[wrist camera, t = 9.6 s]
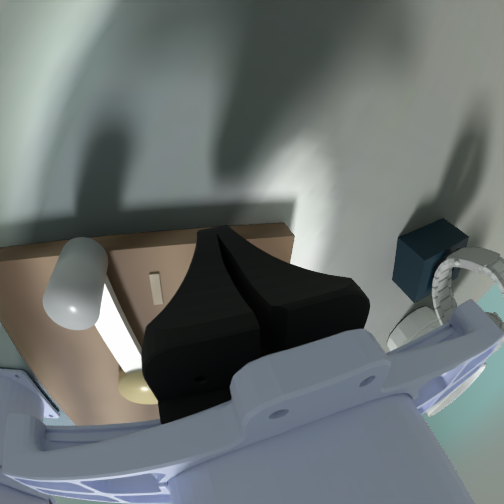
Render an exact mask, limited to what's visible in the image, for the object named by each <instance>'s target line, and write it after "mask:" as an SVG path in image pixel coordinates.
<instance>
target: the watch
mask: <svg viewBox="0 0 504 504" xmlns="http://www.w3.org/2000/svg"><path fill="white" fill-rule="evenodd" d="M468 238H469V236H467V235H466V234H465V233H463V232H462V231H460V230H459V229H458V228H456V227H455V226H454V225H452V224H451V223H449V222H448V221H447V220H445V219H444V218H442V219H440V220H438V221H436V222H433V223H431V224H429V225H427V226H424V227H422V228H420V229H417V230H415V231H413V232H410V233H408V234H406V235H403V236H401V237H398V242H397V250H396V257H395V265H394V271H393V278H392V280H393V281H394V282H395V283H396V284H397V285H398V286H399V287H400V288H401V290H402V291H403V292H404V293H405V294H406V295H407V296H408V297H409V298H410V299H411V300H412V301H413V302H414V303H415V302H417V301H419V300H421V299H422V298H424V297H426V296H428V295H429V294H431V293H432V297H433V304H434V308H436V309H435V312H436V315H437V317H438V319H439V322H440V324H441V326H442V325H443V324H445V323H447V322H449V318H450V316H451V314H452V313H453V311H454V310H455V309H456V308H457V303H456V301H455V299H454V298H452V297H454V295H453V291H452V288H450V287H451V286H452V285H451V281H452V280H454V279H455V278H457V276H458V273H459V270H460V268H465V269H469V270H472V271H474V272H477V273H479V274H482V273H484V274H486V275H487V276H489V277H490V278H491V279H492V278H493V279H494V280H495V282H498V281H499V280H500V281H499V282H498V286H499V288H500V289H501V292H502V294H504V259H503V258H501V257H499V256H500V254H499V253H496V252H494V251H491V250H488V249H484V248H477V247H466V246H467V242H468ZM500 273H501V274H500ZM503 298H504V296H503ZM448 308H449V309H448ZM454 308H455V309H454ZM445 310H446V311H445ZM485 313H486V314H487V315H488V316H489V317H490V318H491V319H492V320H493V321H494V323H495V324H496V325H497V326H498V327H499V328H500V329H501V330H502V331H503V332H504V322H502V320H501V318H500V317H499V316H498V314H497V313H495V312H494V313H489V312H485ZM441 317H442V318H441ZM503 342H504V337H503V338H502V340H501V341H500V342H499V344H498V345H497V347H496V348H495V349H494V351H493V352H492V353H494V352H496V351H497V350H498V349H499V348H500V347H501V345H502V344H503ZM492 353H491V354H492Z"/></svg>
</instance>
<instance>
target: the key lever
mask: <svg viewBox="0 0 504 504" xmlns="http://www.w3.org/2000/svg"><path fill="white" fill-rule="evenodd" d="M107 268H108V256H107V253H106V251H105V250H104V248H103V247H102V246H101V245H100V244H99V243H98V242H96V241H95V240H93V239H90V238H86V237H77V238H73V239H71V240H69V241H68V242H67V243H66V244H65V245H64V247H63V249H62V251H61V253H60V256H59V258H58V260H57V263H56V265H55V267H54V270H53V272H52V275H51V277H50V280H49V282H48V285H47V287H46V290H45V293H44V295H43V307H44V309H45V311H46V313H47V315H48V316H49V317H50V318H51V319H52V320H53V321H54V322H55V323H57V324H58V325H60V326H62V327H64V328H67V329H71V330H85V329H88V328H90V327H92V326H93V325H95V326H96V328H97V330H98V331H99V333H100V335H101V336H102V338H103V340H104V341H105V343H106V344H107V346H108V348H109V349H110V351H111V352H112V354H113V355H114V357H115V358H116V360H117V362H118V363H119V365H120V366H121V367H122V369H121V370H120V372H119V374H118V390H119V393H120V394H121V395H122V396H123V397H124V398H125V399H127V400H129V401H131V402H134V403H139V404H158V400H157V399H156V397H155V396H154V394H153V392H152V391H151V389H150V388H149V386H148V384H147V383H146V381H145V380H144V377H143V374H142V361H141V352H142V348H141V346H140V344H139V342H138V340H137V339H136V337H135V335H134V333H133V331H132V329H131V327H130V325H129V323H128V321H127V319H126V317H125V314H124V312H123V310H122V308H121V306H120V304H119V302H118V299H117V297H116V295H115V293H114V291H113V288H112V286H111V284H110V281H109V279H108V277H107V274H106V273H107Z"/></svg>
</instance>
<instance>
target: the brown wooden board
mask: <svg viewBox="0 0 504 504" xmlns="http://www.w3.org/2000/svg"><path fill="white" fill-rule="evenodd" d="M229 227H230V228H232V229H233V230H234V231H235V232H237V233H238V234H239V235H241V236H242V237H243V238H244V239H246V240H247V241H249V242H250V243H252V244H253V245H255V246H256V247H258V248H259V249H261V250H263V251H265V252H266V253H268V254H270V255H272V256H274V257H276V258H278V259H280V260H283V261H285V262H287V263H290V259H291V254H292V248H293V243H294V237H295V236H294V234H293V233H292V232H291V231H290V230H289V228H288V227H287V226H286V225H285V223H271V224H253V225H237V226H229ZM208 228H214V227H207V228H193V229H180V230H167V231H155V232H143V233H132V234H121V235H110V236H100V237H90V239H93V240H95V241H96V242H98V243H99V244H100V245H101V246H102V247H103V248H104V250H105V251H106V253H107V256H108V268H107V273H106V274H107V277H108V279H109V281H110V284H111V286H112V288H113V291H114V293H115V295H116V297H117V299H118V302H119V304H120V306H121V308H122V310H123V312H124V314H125V317H126V319H127V321H128V323H129V325H130V327H131V329H132V331H133V333H134V335H135V337H136V339H137V340H138V342H139V344H140V346H141V348H142V344H143V338H144V333H145V329H146V326H147V325H148V324H149V323H150V322H151V321H152V320H153V319H154V318H155V317H156V316H157V315H158V314H159V313H160V312H161V311H162V310H163V309H164V308H165V307H166V305H167V304H168V303H169V301H170V300H171V299H172V298H173V296H174V295H175V293H176V292H177V290H178V288H179V287H180V285H181V283H182V281H183V280H184V278H185V276H186V273H187V271H188V269H189V266H190V263H191V261H192V258H193V255H194V251H195V247H196V242H197V234H196V233H197V232H198V231H199V230H203V229H208ZM68 241H69V240H61V241H52V242H43V243H35V244H27V245H18V246H10V247H3V248H0V321H1V323H2V325H3V326H4V328H5V330H6V332H7V333H8V335H9V337H10V338H11V340H12V342H13V343H14V345H15V346H16V348H17V350H18V351H19V353H20V354H21V356H22V357H23V359H24V360H25V362H26V363H27V365H28V366H29V368H30V369H31V370H32V372H33V373H34V375H35V376H36V377H37V379H38V380H39V381H40V383H41V384H42V385H43V387H44V388H45V389H46V391H47V392H48V393H49V394H50V396H51V397H52V398H53V399H54V401H55V402H56V403H57V404H58V405H59V407H60V408H61V409H62V410H63V411H64V412H65V413H66V415H67V416H68V417H69V418H70V419H71V420H72V421H73V422H74V423H75V425H76V426H84V425H106V424H119V423H130V422H140V421H148V420H156V419H160V416H159V408H158V404H139V403H134V402H131V401H129V400H127V399H125V398H124V397H123V396H122V395H121V394H120V393H119V390H118V374H119V372H120V370H121V369H122V367H121V366H120V365H119V363H118V362H117V360H116V358H115V357H114V355H113V354H112V352H111V351H110V349H109V348H108V346H107V344H106V343H105V341H104V340H103V338H102V336H101V335H100V333H99V331H98V330H97V328H96V326H95V325H93V326H92V327H90V328H88V329H85V330H71V329H67V328H64V327H62V326H60V325H58V324H57V323H55V322H54V321H53V320H52V319H51V318H50V317H49V316H48V315H47V313H46V311H45V309H44V307H43V295H44V293H45V290H46V287H47V285H48V282H49V280H50V277H51V275H52V272H53V270H54V267H55V265H56V263H57V260H58V258H59V256H60V253H61V251H62V249H63V247H64V245H65V244H66V243H67V242H68Z"/></svg>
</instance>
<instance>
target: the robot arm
mask: <svg viewBox="0 0 504 504" xmlns="http://www.w3.org/2000/svg"><path fill="white" fill-rule="evenodd" d="M196 234H197V242H196V247H195V251H194V255H193V258H192V261H191V263H190V266H189V269H188V271H187V273H186V276H185V278H184V280H183V281H182V283H181V285H180V287H179V288H178V290H177V292H176V293H175V295H174V296H173V298H172V299H171V300H170V301H169V303H168V304H167V305H166V307H165V308H164V309H163V310H162V311H161V312H160V313H159V314H158V315H157V316H156V317H155V318H154V319H153V320H152V321H151V322H150V323H149V324H148V325H147V326H146V329H145V333H144V338H143V344H142V352H141V361H142V374H143V377H144V380H145V381H146V383H147V384H148V386H149V388H150V389H151V391H152V392H153V394H154V396H155V397H156V399H157V400H158V408H159V416H160V419H156V420H148V421H140V422H130V423H119V424H106V425H84V426H45V424H44V423H43V419H44V417H46V418H60V414H59V413H58V411H57V410H56V409H55V408H54V407H53V406H52V405H51V403H50V402H49V401H48V400H47V399H46V397H45V396H44V395H43V394H42V393H41V391H40V390H39V389H38V388H37V386H36V385H35V384H34V382H33V381H32V380H31V378H30V377H29V376H28V374H27V373H26V372H25V371H23V370H12V369H0V504H57V502H56V501H55V499H54V498H53V497H52V496H51V495H54V496H61V497H68V498H75V499H83V500H91V501H101V502H114V503H135V504H140V503H141V504H160V503H161V504H162V503H172V504H475V503H474V501H473V499H472V498H471V496H470V494H469V492H468V491H467V489H466V487H465V485H464V483H463V482H462V480H461V478H460V477H459V475H458V473H457V471H456V470H455V468H454V466H453V465H452V463H451V461H450V460H449V458H448V456H447V455H446V453H445V451H444V450H443V448H442V447H441V445H440V443H439V442H438V440H437V438H436V437H435V436H434V434H433V432H432V431H431V429H430V427H429V426H428V424H427V423H426V421H425V420H424V418H423V416H422V414H424V413H425V412H426V411H428V410H429V409H430V408H432V407H433V406H434V405H436V404H437V403H438V402H440V401H441V400H442V399H444V398H445V397H446V396H447V395H449V394H450V393H451V392H452V391H454V390H455V389H456V388H457V387H459V386H460V385H461V384H462V383H464V382H465V381H466V380H467V379H468V378H470V377H471V376H472V375H473V374H474V373H476V372H477V371H478V370H479V369H480V368H481V366H482V365H483V364H484V363H485V361H486V360H487V359H488V357H489V356H490V355H491V353H492V352H493V351H494V349H495V348H496V347H497V345H498V344H499V342H500V341H501V340H502V338H503V337H504V332H503V331H502V330H501V329H500V328H499V327H498V326H497V325H496V324H495V323H494V321H493V320H492V319H491V318H490V317H489V316H488V315H487V314H486V313H485V312H484V311H483V310H482V309H481V308H480V307H479V306H478V305H477V304H476V303H475V302H474V301H473V300H472V299H470V300H468V301H466V302H465V303H463V304H461V305H459V306H458V307H457V308H456V309H455V310H454V311H453V313H452V314H451V316H450V318H449V322H447V323H445V324H443V325H442V326H440V327H438V328H436V329H434V330H432V331H430V332H429V333H427V334H425V335H423V336H421V337H419V338H417V339H415V340H413V341H411V342H409V343H407V344H405V345H403V346H401V347H399V348H396V349H394V350H392V351H390V352H388V353H385V352H384V350H383V349H382V348H381V346H380V345H379V343H378V342H377V341H376V339H375V338H374V336H373V335H372V334H371V333H370V332H368V331H367V330H365V329H364V326H365V323H366V320H367V317H368V314H369V310H370V302H369V299H368V297H367V296H366V295H365V293H364V292H363V291H362V290H361V288H360V287H359V286H358V285H357V284H356V283H355V282H354V281H353V280H352V279H351V278H346V277H340V276H333V275H327V274H323V273H319V272H314V271H311V270H307V269H304V268H301V267H298V266H295V265H292V264H290V263H287V262H285V261H283V260H280V259H278V258H276V257H274V256H272V255H270V254H268V253H266V252H265V251H263V250H261V249H259V248H258V247H256V246H255V245H253V244H252V243H250V242H249V241H247V240H246V239H244V238H243V237H242V236H241V235H239V234H238V233H237V232H235V231H234V230H233V229H232V228H230V227H229V226H228V225H225V226H219V227H214V228H208V229H203V230H199V231H198V232H197V233H196Z"/></svg>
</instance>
